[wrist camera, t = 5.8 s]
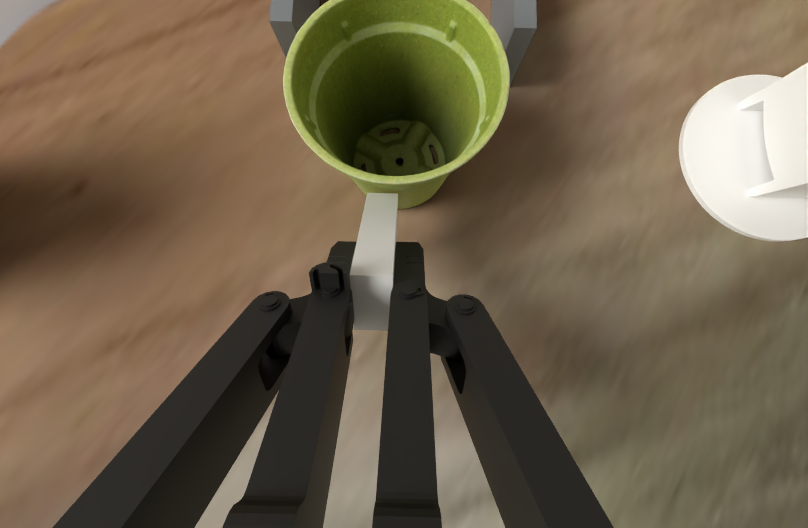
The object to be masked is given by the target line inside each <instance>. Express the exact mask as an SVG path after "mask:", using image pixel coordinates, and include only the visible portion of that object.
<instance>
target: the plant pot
mask: <svg viewBox="0 0 808 528" xmlns="http://www.w3.org/2000/svg"><path fill="white" fill-rule="evenodd" d="M509 88H510V72H509V65H508V60H507V57H506V53H505V51H504V48H503V45H502V42H501V40H500V38H499V36H498V34H497V32H496V31H495V29H494V28H493V27H492V26H491V24H490V23H489V21H488V20H487V19H486V17H485V16H484V15H483V14H482V13H481V12H480V11H479V10H478V9H477V8H476V7H475V6H474V5H472V4H471V3H470V2H468V1H467V0H329V1H327V2H326V3H325V4H323V5H322V6H321V7H319V8H318V9H317V10H316V11H315V12H314V13H313V14H312V15H311V16H310V17H309V18H308V19H307V21H306V22H305V23H304V25H303V26H302V27H301V28H300V29H299V31H298V32H297V34H296V36H295V38H294V40H293V42H292V44H291V46H290V49H289V51H288V54H287V58H286V63H285V68H284V76H283V89H284V96H285V101H286V106H287V109H288V112H289V115H290V118H291V120H292V122H293V124H294V126H295V128H296V130H297V131H298V133H299V134H300V136H301V137H302V139H303V140H304V141H305V143H306V144H307V145H308V146H309V148H310V149H311V150H312V151H313V152H314V153H315V154H316V155H317V156H318V157H320V158H321V159H322V160H323V161H324V162H326V163H327V164H328V165H330V166H331V167H333V168H334V169H336V170H338V171H339V172H341V173H343V174H345V175H347V176H350V177H351V178H352V180H353V181H354V182H355V183H356V185H357V186H358V187H359V188H360V190H361V191H362V192H363V193H364V194H365V195H366V196H367V193H397V194H398V209H403V208H410V207H414V206H417V205H419V204H422V203H423V202H425V201H427V200H428V199H429V198H431V197H432V196H433V195H434V194H435V193H436V192H437V190H438V189H439V188H440V187H441V185H442V184H443V182H444V181H445V179H446V178H447V176H448V175H449V173H451V172H453V171H455V170H456V169H458V168H460V167H461V166H463V165H464V164H465V163H467V162H468V161H469V160H471V159H472V158H473V157H474V156H475V155H476V154H477V153H478V152H479V151H480V150H481V149H482V148H483V147H484V146H485V145H486V143H487V142H488V141H489V140H490V138H491V137H492V135H493V134H494V132H495V131H496V129H497V127H498V125H499V123H500V121H501V119H502V117H503V115H504V112H505V109H506V105H507V101H508V96H509ZM390 128H399V129H400V131H399V132H397V133H390V134H387V135H385V136H380V133H381V132H382V131H383V130H386V129H390ZM429 145H432V146H434V149H435V151H436V153H437V155H438V163H437V164H435V163H434V162H433V157H432V154H431V151H430V149H429ZM397 158H401V159H402V160H403V164H402V165H401V166H398V165H397V164H396V159H397ZM362 164H364V165H365V168H366V172H365V171H362V170H361V169H360V167H361V165H362Z"/></svg>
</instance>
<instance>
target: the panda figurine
mask: <svg viewBox="0 0 808 528" xmlns="http://www.w3.org/2000/svg"><path fill="white" fill-rule="evenodd" d="M679 157H680V164H681V168H682V172H683V175H684V177H685V180H686V182H687V184H688V186H689V188H690V190H691V192H692V193H693V195H694V196H695V198H696V199H697V201H698V202H699V203H700V204H701V206H702V207H703V208H704V209H705V210H706V211H707V212H708V213H709V214H710V215H711V216H712V217H714V218H715V219H716V220H717V221H719V222H720V223H722V224H723V225H725V226H726V227H728V228H730V229H731V230H733V231H735V232H738V233H740V234H742V235H745V236H748V237H751V238H755V239H759V240H764V241H776V242H781V241H792V240H798V239H802V238H807V237H808V63H806V64H805V65H803V66H801V67H800V68H798V69H796V70H795V71H793V72H792V73H790V74H788V75H787V76H785V77H783V78H781V77H777V76H770V75H747V76H741V77H736V78H733V79H730V80H727V81H725V82H723V83H721V84H719V85H717V86H715V87H714V88H713V89H711V90H710V91H708V92H707V93H706V94H704V95H703V96H702V97H701V98H700V99H699V100H698V101H697V102H696V103H695V104H694V105H693V107H692V108H691V110H690V111H689V113H688V115H687V116H686V118H685V121H684V123H683V126H682V129H681V133H680V140H679Z"/></svg>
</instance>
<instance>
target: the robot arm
mask: <svg viewBox="0 0 808 528" xmlns="http://www.w3.org/2000/svg"><path fill="white" fill-rule="evenodd" d="M309 276H310V282H311V287H312V292H311V294H308V295H306V296H303V297H299V298H294V299H289V297H288V296H287V295H286V294H285V293H282V292H278V291H272V292H267V293H264V294H262V295H259V296H258V297H257V298H255V299H254V300H253V301H252V302H251V303H250V305H249V306H248V307H247V308H246V309H245V310H244V311H243V312H242V314H241V315H240V316H239V317H238V318H237V319H236V320H235V321H234V323H233V324H232V325H231V326H230V327H229V328H228V329H227V331H226V332H225V333H224V334H223V335H222V336H221V337H220V338H219V340H218V341H217V342H216V343H215V344H214V345H213V346H212V348H211V349H210V350H209V351H208V352H207V353H206V354H205V355H204V357H203V358H202V359H201V360H200V361H199V362H198V363H197V365H196V366H195V367H194V368H193V369H192V370H191V371H190V372H189V374H188V375H187V376H186V377H185V378H184V379H183V380H182V381H181V383H180V384H179V385H178V386H177V387H176V388H175V389H174V391H173V392H172V393H171V394H170V395H169V396H168V397H167V398H166V400H165V401H164V402H163V403H162V404H161V405H160V406H159V408H158V409H157V410H156V411H155V412H154V413H153V414H152V415H151V417H150V418H149V419H148V420H147V421H146V422H145V423H144V425H143V426H142V427H141V428H140V429H139V430H138V431H137V432H136V434H135V435H134V436H133V437H132V438H131V439H130V440H129V442H128V443H127V444H126V445H125V446H124V447H123V448H122V449H121V451H120V452H119V453H118V454H117V455H116V456H115V457H114V458H113V460H112V461H111V462H110V463H109V464H108V465H107V466H106V468H105V469H104V470H103V471H102V472H101V473H100V474H99V475H98V477H97V478H96V479H95V480H94V481H93V482H92V483H91V485H90V486H89V487H88V488H87V489H86V490H85V491H84V492H83V494H82V495H81V496H80V497H79V498H78V499H77V500H76V502H75V503H74V504H73V505H72V506H71V507H70V508H69V509H68V511H67V512H66V513H65V514H64V515H63V516H62V517H61V518H60V520H59V521H58V522H57V523H56V524H55V525H54V526H53V528H194V527H195V526H196V524H197V522H198V521H199V519H200V518H201V516H202V514H203V513H204V511H205V509H206V508H207V506H208V504H209V503H210V501H211V500H212V498H213V496H214V495H215V493H216V491H217V490H218V488H219V487H220V485H221V483H222V482H223V480H224V478H225V477H226V475H227V474H228V472H229V470H230V469H231V467H232V465H233V464H234V462H235V461H236V459H237V457H238V456H239V454H240V452H241V451H242V449H243V447H244V446H245V444H246V443H247V441H248V439H249V438H250V436H251V434H252V433H253V431H254V430H255V428H256V426H257V425H258V423H259V421H260V420H261V418H262V417H263V415H264V413H265V412H266V410H267V408H268V407H269V405H270V403H271V402H272V400H273V399H274V397H275V395H276V394H277V392H278V390H279V392H278V395H277V398H276V401H275V404H274V407H273V410H272V413H271V416H270V419H269V423H268V426H267V429H266V432H265V435H264V438H263V441H262V444H261V447H260V450H259V453H258V456H257V459H256V462H255V465H254V468H253V471H252V474H251V477H250V480H249V483H248V486H247V489H246V492H245V494H244V496H243V498H242V499H241V500H240V501H239V502H237V503H236V504H235V505H233V507H232V508H231V510H230V511H229V513H228V515H227V518H226V520H225V522H224V525H223V528H323V523H324V517H325V510H326V504H327V498H328V492H329V486H330V480H331V473H332V467H333V461H334V455H335V449H336V443H337V436H338V430H339V424H340V418H341V412H342V406H343V400H344V393H345V387H346V381H347V375H348V369H349V363H350V356H351V350H352V344H353V334H352V330H353V324H354V330H388V338H387V352H386V366H385V380H384V394H383V408H382V422H381V436H380V450H379V464H378V478H377V492H376V502H375V507H374V514H373V525H372V528H442V523H441V513H440V508H439V505H438V496H437V477H436V458H435V439H434V419H433V400H432V380H431V361H430V353H433V354H437V355H440V356H441V360H442V363H443V365H444V368H445V370H446V373H447V376H448V378H449V381H450V384H451V386H452V389H453V391H454V394H455V397H456V399H457V402H458V404H459V407H460V410H461V412H462V415H463V418H464V420H465V423H466V425H467V428H468V431H469V433H470V436H471V439H472V441H473V444H474V446H475V449H476V452H477V454H478V457H479V460H480V462H481V465H482V467H483V470H484V473H485V475H486V478H487V481H488V483H489V486H490V488H491V491H492V494H493V496H494V499H495V502H496V504H497V507H498V509H499V512H500V515H501V517H502V520H503V522H504V525H505V528H614V527H613V526H612V524H611V522H610V521H609V519H608V517H607V516H606V514H605V512H604V510H603V509H602V507H601V505H600V504H599V502H598V500H597V498H596V497H595V495H594V493H593V492H592V490H591V488H590V486H589V485H588V483H587V481H586V480H585V478H584V476H583V474H582V473H581V471H580V469H579V468H578V466H577V464H576V462H575V461H574V459H573V457H572V456H571V454H570V452H569V451H568V449H567V447H566V445H565V444H564V442H563V440H562V439H561V437H560V435H559V433H558V432H557V430H556V428H555V427H554V425H553V423H552V421H551V420H550V418H549V416H548V415H547V413H546V411H545V409H544V408H543V406H542V404H541V403H540V401H539V399H538V398H537V396H536V394H535V392H534V391H533V389H532V387H531V386H530V384H529V382H528V380H527V379H526V377H525V375H524V374H523V372H522V370H521V368H520V367H519V365H518V363H517V362H516V360H515V358H514V356H513V355H512V353H511V351H510V350H509V348H508V346H507V345H506V343H505V341H504V339H503V338H502V336H501V334H500V333H499V331H498V329H497V327H496V326H495V324H494V322H493V321H492V319H491V317H490V315H489V314H488V312H487V310H486V309H485V307H484V305H483V304H482V303H481V302H480V300H478V299H477V298H475V297H473V296H469V295H456V296H453V297H452V298H450V299H449V300H448V301H445V300H441V299H438V298H436V297H434V296H432V295H431V294H430V293H429V292H428V291H427V289H426V286H425V272H424V253H423V248H422V247H421V245H420V244H419V243H418V242H398V194H397V193H367V197H366V202H365V206H364V211H363V216H362V220H361V225H360V229H359V234H358V238H357V242H343V241H338V242H337V243H336V244H335V245H334V246H333V247H332V248H331V250H330V254H329V257H328V260H327V263H322V264H319V265H316V266H315V267H313V268H312V269H311V271H310V272H309Z"/></svg>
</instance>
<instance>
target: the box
mask: <svg viewBox="0 0 808 528" xmlns="http://www.w3.org/2000/svg"><path fill="white" fill-rule="evenodd" d="M319 7H320V0H271V7H270V18H269V21H270V24H271V26H272V28H273V30H274V32H275V35H276V37H277V39H278V41H279V43H280V46H281V48H282V50H283V52H284V54H285V56H286V58H287V54H288V51H289V49H290V46H291V44H292V42H293V40H294V38H295V36H296V34H297V32H298V31H299V29H300V28H301V27H302V26H303V25H304V23H305V22H306V21H307V19H308V18H309V17H310V16H311V15H312V14H313V13H314V12H315V11H316V10H317V9H318V8H319ZM491 26H492V27H493V28H494V29H495V31H496V32H497V34H498V36H499V38H500V40H501V42H502V45H503V48H504V51H505V53H506V57H507V60H508V65H509V72H510V85H511V83H512V81H513V78H514V76H515V74H516V72H517V70H518V68H519V66H520V63H521V61H522V59H523V57H524V55H525V53H526V51H527V48H528V46H529V44H530V42H531V40H532V38H533V35H534V33H535V31H536V29H537V14H536V0H491Z"/></svg>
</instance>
